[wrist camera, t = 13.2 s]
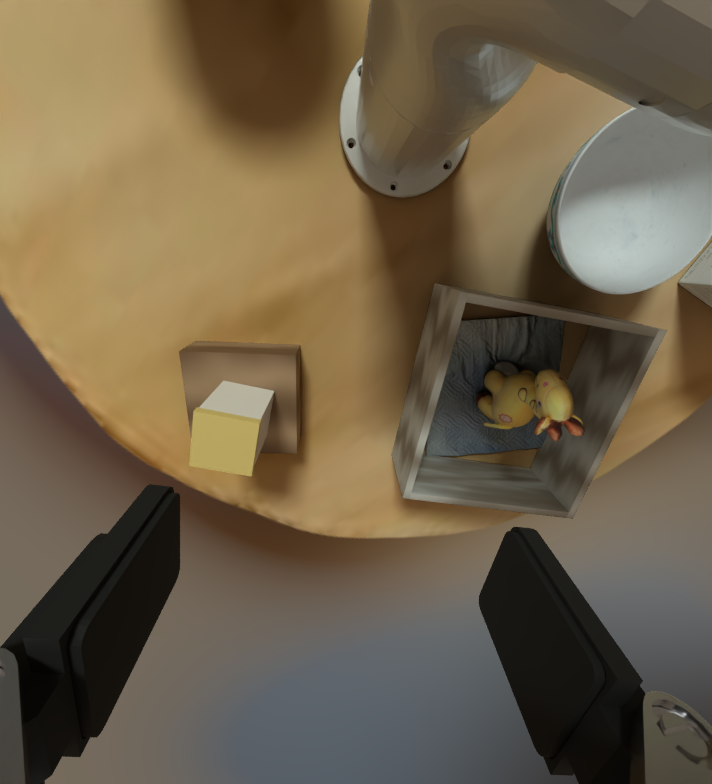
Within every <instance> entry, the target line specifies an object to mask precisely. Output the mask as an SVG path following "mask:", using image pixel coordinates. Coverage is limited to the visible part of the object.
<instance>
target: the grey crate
mask: <svg viewBox="0 0 712 784" xmlns="http://www.w3.org/2000/svg"><path fill="white" fill-rule="evenodd" d="M466 302H467V303H472V304H478V305H483V306H489V307H494V308H499V309H505V310H510V311H516V312H521V313H526V314H532V315H537V316H543V317H548V318H553V319H559V320H564V321H570V322H575V323H581V324H586V325H590V328H589V330H588V332H587V335H586V337H585V340H584V342H583V344H582V347H581V349H580V351H579V354H578V356H577V359H576V361H575V363H574V366H573V368H572V371H571V373H570V375H569V378H568V380H567V382H566V383H567V385H568V388H569V390H570V392H571V394H572V397H573V406H574V408H573V415H576V416H577V417H579V418H580V419H581V420H582V421H583V424H584V427H585V433H584V435H582V436H578V437H577V436H574V435H572V434H570V433H569V432H568V430H567V428H566V427H565V425H564V424H563V425H562V427H561V428H562V436H561V438H560V439H559V441H554V440H552V439H551V438H550V436H549V435H548V433H547V437H546V439H545V441H544V443H543V445H542V448H539V449H538V451H537V454H536V456H535V459H534V461H533V463H532V466H531V468H523V467H516V466H508V465H501V464H494V463H486V462H479V461H471V460H464V459H457V458H449V457H442V456H434V455H433V456H427V454H423V451H424V447H425V444H426V440H427V437H428V433H429V430H430V426H431V423H432V419H433V416H434V412H435V409H436V405H437V402H438V398H439V395H440V391H441V388H442V384H443V381H444V377H445V374H446V370H447V367H448V363H449V360H450V356H451V353H452V349H453V346H454V342H455V339H456V335H457V332H458V329H459V325H460V322H461V318H462V315H463V311H464V308H465V304H466ZM666 331H667V330H663V329H659V328H654V327H650V326H646V325H642V324H638V323H634V322H630V321H626V320H622V319H617V318H613V317H609V316H605V315H601V314H596V313H590V312H585V311H580V310H574V309H569V308H564V307H559V306H553V305H548V304H543V303H537V302H532V301H527V300H522V299H516V298H511V297H506V296H500V295H495V294H490V293H485V292H479V291H474V290H469V289H463V288H458V287H453V286H448V285H442V284H437V283H435V284H434V288H433V292H432V296H431V300H430V304H429V308H428V312H427V316H426V320H425V324H424V328H423V332H422V336H421V340H420V344H419V348H418V352H417V356H416V360H415V364H414V368H413V372H412V376H411V380H410V384H409V388H408V392H407V396H406V400H405V404H404V408H403V412H402V416H401V420H400V424H399V428H398V432H397V436H396V440H395V444H394V448H393V452H392V458H393V462H394V466H395V470H396V474H397V478H398V481H399V485H400V489H401V493H402V497H403V498H406V499H414V500H422V501H431V502H439V503H447V504H455V505H464V506H472V507H480V508H488V509H497V510H505V511H513V512H522V513H530V514H539V515H546V516H555V517H563V518H571V519H573V517H574V515H575V513H576V511H577V509H578V507H579V505H580V503H581V501H582V499H583V497H584V495H585V493H586V491H587V489H588V487H589V485H590V483H591V481H592V479H593V477H594V475H595V473H596V471H597V469H598V467H599V465H600V463H601V461H602V459H603V457H604V455H605V453H606V451H607V449H608V447H609V445H610V443H611V441H612V439H613V437H614V435H615V433H616V431H617V429H618V427H619V425H620V423H621V421H622V419H623V417H624V415H625V413H626V411H627V409H628V407H629V405H630V403H631V401H632V399H633V397H634V395H635V393H636V391H637V389H638V387H639V385H640V383H641V381H642V379H643V377H644V375H645V373H646V371H647V369H648V367H649V365H650V363H651V361H652V359H653V357H654V355H655V353H656V351H657V349H658V347H659V345H660V343H661V341H662V339H663V337H664V335H665V333H666Z"/></svg>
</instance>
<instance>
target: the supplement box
mask: <svg viewBox="0 0 712 784" xmlns="http://www.w3.org/2000/svg"><path fill="white" fill-rule="evenodd" d="M678 283H679V284H680V285H681V286H682V287H684V288H685V289H687V290H688V291H689V292H691V293H692V294H693V295H695V296H696V297H698V298H699V299H700V300H702V301H703V302H704V303H706V304H707V305H709V306H710V307H711V308H712V242H711V244H710V245H709V246H708V247H707V248H706V249H705V251H704V252H703V253H702V254H701V255H700V257H699V258H698V259H697V260H696V261H695V263H694V264H693V265H692V266H691V267H690V269H689V270H688V271H687V272H686V273H685V274H684V276H683V277H682V278H681V279H680V281H679V282H678Z"/></svg>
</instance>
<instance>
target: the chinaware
mask: <svg viewBox="0 0 712 784" xmlns="http://www.w3.org/2000/svg"><path fill="white" fill-rule="evenodd" d="M547 235H548V241H549V244H550V248H551V250H552V253H553V255H554V257H555V258H556V260H557V262H558V263H559V265H560V266H561V267H562V268H563V269H564V271H565V272H566V273H567V274H569V275H570V276H571V277H572V278H573V279H575V280H576V281H578V282H579V283H581V284H583V285H584V286H586V287H588V288H591V289H593V290H595V291H598V292H602V293H607V294H615V295H623V294H632V293H637V292H641V291H644V290H647V289H650V288H652V287H655V286H657V285H659V284H661V283H663V282H665V281H666V280H668V279H670V278H671V277H673V276H674V275H675V274H677V273H678V272H679V271H681V270H682V269H683V268H684V267H686V266H687V265H688V264H689V263H690V262H691V261H692V260H693V259H694V258H695V257H696V256H697V255H698V253H699V252H700V251H701V250H702V249H703V247H704V246H705V245H706V243H707V242H708V241H709V239H710V238H711V236H712V137H710V136H704V135H699V134H695V133H691V132H689V131H686V130H683V129H681V128H678V127H675V126H673V125H671V124H669V123H666V122H664V121H662V120H660V119H658V118H656V117H653V116H651V115H649V114H647V113H645V112H643V111H641V110H639V109H637V108H635V107H634V108H632V109H630V110H628V111H626V112H624V113H623V114H621V115H619V116H618V117H616V118H615V119H613V120H612V121H610V122H609V123H608V124H606V125H605V126H604V127H603V128H601V129H600V130H599V131H598V132H597V133H596V134H594V135H593V136H592V137H591V138H590V139H589V140H588V141H587V142H586V143H585V144H584V145H583V146H582V147H581V148H580V150H579V151H578V152H577V153H576V154H575V155H574V157H573V158H572V159H571V161H570V162H569V163H568V165H567V166H566V168H565V169H564V171H563V173H562V174H561V176H560V178H559V180H558V182H557V184H556V186H555V188H554V191H553V194H552V196H551V200H550V203H549V208H548V213H547Z"/></svg>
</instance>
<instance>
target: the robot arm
mask: <svg viewBox="0 0 712 784" xmlns="http://www.w3.org/2000/svg"><path fill="white" fill-rule="evenodd" d="M537 62H539V63H541V64H543V65H545V66H547V67H549V68H551V69H553V70H555V71H557V72H559V73H567V74H569V75H571V76H573V77H575V78H577V79H579V80H581V81H583V82H585V83H587V84H589V85H591V86H593V87H595V88H597V89H599V90H601V91H603V92H605V93H607V94H609V95H611V96H613V97H615V98H617V99H619V100H621V101H623V102H625V103H627V104H629V105H631V106H633V107H635V108H637V109H639V110H641V111H643V112H645V113H647V114H649V115H651V116H653V117H656V118H658V119H660V120H662V121H664V122H666V123H669V124H671V125H673V126H675V127H678V128H681V129H683V130H686V131H689V132H691V133H695V134H699V135H704V136H710V137H712V0H370V3H369V11H368V19H367V27H366V35H365V44H364V52H363V55H362V56H361V58H360V59H359V60H358V61H357V62H356V64H355V66H354V67H353V69H352V71H351V72H350V74H349V76H348V79H347V81H346V84H345V86H344V89H343V93H342V98H341V102H340V111H339V130H340V136H341V142H342V146H343V149H344V152H345V155H346V157H347V160H348V162H349V163H350V165H351V167H352V169H353V170H354V172H355V173H356V174H357V175H358V177H359V178H360V179H361V180H362V181H363V182H364V183H365V184H367V185H368V186H369V187H370V188H371V189H373V190H375V191H377V192H379V193H381V194H383V195H387V196H390V197H396V198H408V197H414V196H418V195H421V194H423V193H426V192H428V191H430V190H432V189H433V188H435V187H436V186H438V185H439V184H440V183H442V182H443V181H444V180H445V179H446V178H447V177H448V176H449V175H450V174H451V173H452V172H453V171H454V169H455V168H456V166H457V165H458V163H459V162H460V160H461V158H462V157H463V154H464V152H465V150H466V147H467V145H468V142H469V138H470V136H471V135H472V134H473V133H474V132H475V131H476V130H477V129H479V128H480V127H481V126H482V125H483V124H484V123H485V122H487V121H488V120H489V119H490V118H491V117H492V116H493V115H494V114H496V113H497V112H498V111H499V110H500V109H501V108H502V107H503V106H504V105H505V104H506V103H507V102H508V101H510V99H511V98H512V97H513V96H514V95H515V94H516V93H517V92H518V90H519V89H520V88H521V87H522V85H523V84H524V83H525V82H526V80H527V79H528V77H529V75H530V74H531V72H532V71H533V69H534V67H535V65H536V64H537ZM360 73H361V76H360V77H359V74H360ZM349 143H352V144H353V145H354V147H353V148H349V146H348V145H349ZM444 164H446V165H447V169H446V170H445V169H444V168H443V165H444ZM391 185H394V186H395V190H394V191H392V190H391ZM179 570H180V495H179V494H178V493H174V490H173V487H168V486H160V485H152V484H150V485H148V486H147V487H146V488H145V489H144V490H143V491H142V493H141V494H140V495H139V496H138V497H137V499H136V500H135V501H134V502H133V503H132V505H131V506H130V507H129V508H128V510H127V511H126V512H125V513H124V515H123V516H122V517H121V518H120V519H119V521H118V522H117V523H116V524H115V526H114V527H113V528H112V529H111V530H110V532H109V533H108V534H99V535H97V536H96V537H95V538H94V539H93V540H92V541H91V542H90V543H89V544H88V545H87V546H86V548H85V549H84V550H83V551H82V552H81V554H80V555H79V556H78V557H77V558H76V559H75V561H74V562H73V563H72V564H71V565H70V566H69V568H68V569H67V570H66V571H65V572H64V574H63V575H62V576H61V577H60V578H59V579H58V580H57V582H56V583H55V584H54V585H53V586H52V587H51V589H50V590H49V591H48V592H47V593H46V594H45V596H44V597H43V598H42V599H41V600H40V602H39V603H38V604H37V605H36V606H35V607H34V608H33V610H32V611H31V612H30V613H29V614H28V616H27V617H26V618H25V619H24V620H23V621H22V623H21V624H20V625H19V626H18V627H17V628H16V630H15V631H14V632H13V633H12V634H11V635H10V637H9V638H8V639H7V640H6V641H5V643H4V644H3V645H2V646H1V647H0V784H45V780H46V779H47V778H48V777H50V776H51V775H52V774H53V772H54V770H55V768H56V766H57V765H58V763H59V761H60V759H61V757H62V756H67V757H68V756H69V757H80V756H81V754H82V752H83V750H84V748H85V746H86V744H87V743H88V740H89V739H90V737H97V736H98V735H99V734H100V733H101V731H102V730H103V728H104V726H105V724H106V722H107V720H108V718H109V716H110V714H111V712H112V710H113V708H114V706H115V704H116V702H117V700H118V698H119V696H120V694H121V692H122V690H123V688H124V686H125V684H126V682H127V680H128V678H129V676H130V674H131V672H132V669H133V668H134V665H135V664H136V662H137V660H138V657H139V656H140V654H141V652H142V650H143V647H144V645H145V643H146V641H147V639H148V637H149V635H150V633H151V631H152V629H153V627H154V625H155V623H156V621H157V619H158V617H159V615H160V613H161V611H162V609H163V607H164V605H165V603H166V600H167V599H168V597H169V594H170V592H171V591H172V589H173V587H174V585H175V583H176V580H177V578H178V574H179ZM479 606H480V610H481V612H482V615H483V617H484V620H485V622H486V625H487V627H488V630H489V633H490V635H491V638H492V640H493V643H494V645H495V648H496V650H497V653H498V655H499V658H500V660H501V663H502V665H503V668H504V671H505V673H506V676H507V678H508V681H509V683H510V686H511V688H512V691H513V693H514V696H515V699H516V701H517V704H518V706H519V709H520V711H521V714H522V716H523V719H524V721H525V724H526V727H527V729H528V732H529V734H530V737H531V739H532V742H533V744H534V747H535V749H536V751H537V752H538V754H540V755H541V756H543V757H544V759H545V762H546V764H547V767H548V769H549V772H550V774H551V775H573V774H575V776H576V778H577V781H578V783H579V784H712V727H711V726H710V725H709V724H708V723H707V722H706V721H705V720H704V719H703V718H702V717H701V716H700V715H699V714H698V713H697V712H695V711H694V710H693V709H692V708H690V707H689V706H688V705H686V704H685V703H684V702H682V701H681V700H679V699H677V698H675V697H673V696H671V695H669V694H666V693H663V692H659V691H650V692H649V693H647V694H645V693H644V691H643V690H642V688H641V687H640V684H641V683H642V681H643V680H642V679H641V678H640V676H639V675H638V673H637V672H636V670H635V669H634V668H633V666H632V665H631V663H630V662H629V661H628V659H627V658H626V657H625V655H624V653H623V652H622V651H621V649H620V648H619V646H618V645H617V644H616V642H615V641H614V639H613V638H612V636H611V635H610V634H609V632H608V631H607V629H606V628H605V627H604V625H603V624H602V622H601V621H600V620H599V618H598V617H597V615H596V614H595V612H594V611H593V610H592V608H591V607H590V605H589V604H588V603H587V601H586V600H585V598H584V597H583V595H582V594H581V593H580V591H579V590H578V588H577V587H576V585H575V584H574V583H573V581H572V580H571V578H570V577H569V576H568V574H567V573H566V571H565V570H564V568H563V567H562V566H561V564H560V563H559V561H558V560H557V559H556V557H555V556H554V554H553V553H552V551H551V550H550V549H549V547H548V546H547V544H546V543H545V542H544V540H543V539H542V537H541V536H540V535H539V533H538V532H537V531H536V530H534V529H530V528H522V527H513V528H512V529H511V531H508V532H506V534H505V536H504V538H503V541H502V543H501V545H500V548H499V550H498V553H497V555H496V557H495V559H494V562H493V564H492V567H491V569H490V571H489V574H488V576H487V579H486V581H485V583H484V585H483V588H482V590H481V593H480V595H479Z"/></svg>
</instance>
